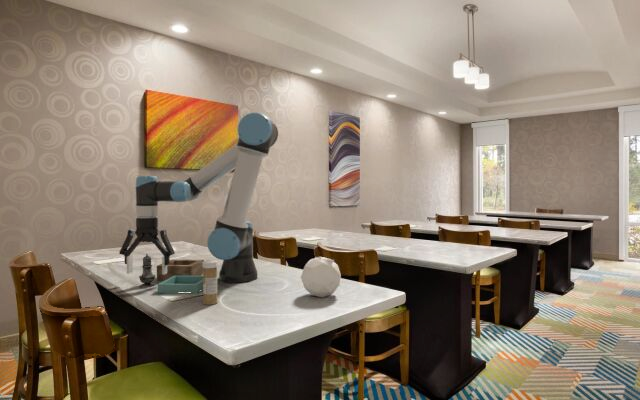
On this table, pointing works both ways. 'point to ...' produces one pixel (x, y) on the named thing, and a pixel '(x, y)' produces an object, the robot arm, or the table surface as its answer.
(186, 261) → the wooden crate
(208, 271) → the sprinkles bottle
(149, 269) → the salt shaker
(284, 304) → the table surface
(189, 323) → the table surface
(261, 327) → the table surface
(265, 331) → the table surface
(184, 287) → the tray
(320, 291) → the geodesic sphere
